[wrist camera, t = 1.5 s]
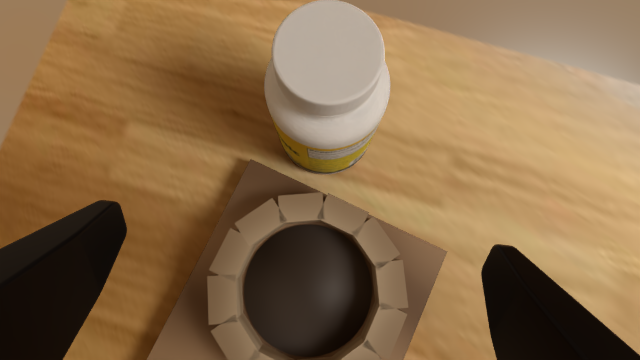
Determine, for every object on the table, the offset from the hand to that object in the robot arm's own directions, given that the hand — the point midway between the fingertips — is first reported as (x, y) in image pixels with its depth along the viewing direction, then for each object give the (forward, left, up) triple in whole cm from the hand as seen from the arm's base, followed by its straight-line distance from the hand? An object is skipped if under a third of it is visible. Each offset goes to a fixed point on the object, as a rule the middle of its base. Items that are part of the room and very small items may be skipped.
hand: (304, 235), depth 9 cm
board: (-6, -1, -13) cm, 14 cm away
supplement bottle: (+6, +2, -13) cm, 14 cm away
